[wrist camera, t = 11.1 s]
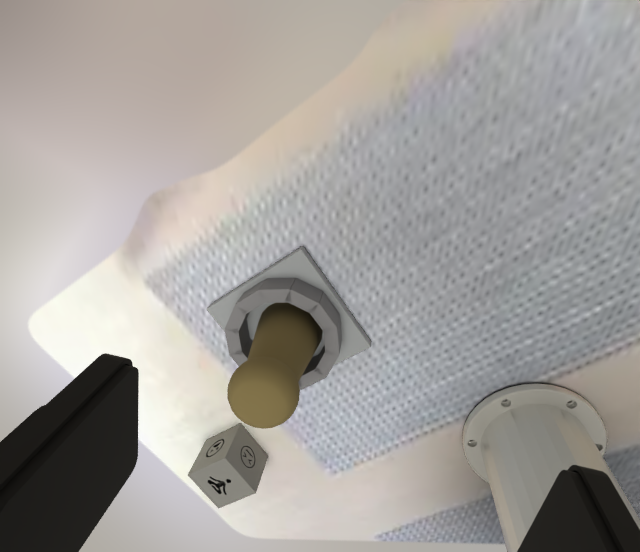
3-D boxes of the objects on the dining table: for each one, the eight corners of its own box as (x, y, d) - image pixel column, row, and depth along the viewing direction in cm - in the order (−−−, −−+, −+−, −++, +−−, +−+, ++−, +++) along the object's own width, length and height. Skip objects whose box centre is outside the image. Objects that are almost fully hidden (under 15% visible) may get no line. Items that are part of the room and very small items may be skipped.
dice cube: (206, 439, 48) (187, 475, 44) (240, 422, 47) (224, 457, 42) (234, 470, 50) (218, 508, 45) (268, 455, 48) (255, 492, 43)
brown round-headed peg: (277, 287, 39) (238, 355, 29) (335, 323, 39) (316, 401, 29) (247, 336, 41) (201, 413, 31) (301, 369, 42) (273, 455, 32)
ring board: (371, 341, 41) (369, 362, 38) (278, 388, 44) (269, 411, 41) (302, 245, 38) (295, 259, 35) (210, 304, 42) (195, 321, 38)
